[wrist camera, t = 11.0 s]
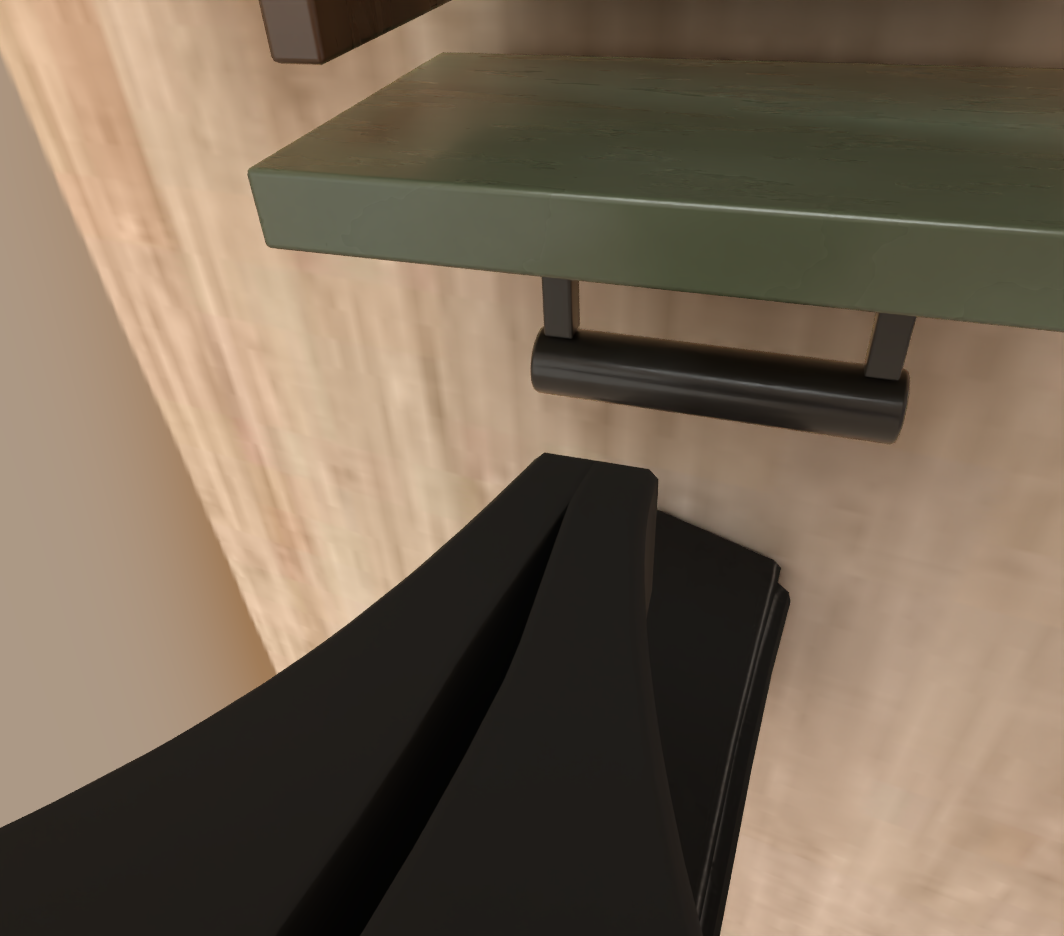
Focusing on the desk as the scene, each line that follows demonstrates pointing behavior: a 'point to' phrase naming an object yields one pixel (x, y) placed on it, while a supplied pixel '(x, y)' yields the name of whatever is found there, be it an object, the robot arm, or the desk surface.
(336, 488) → the desk surface
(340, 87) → the desk surface
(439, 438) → the desk surface
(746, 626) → the portable radio
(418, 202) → the drawer
